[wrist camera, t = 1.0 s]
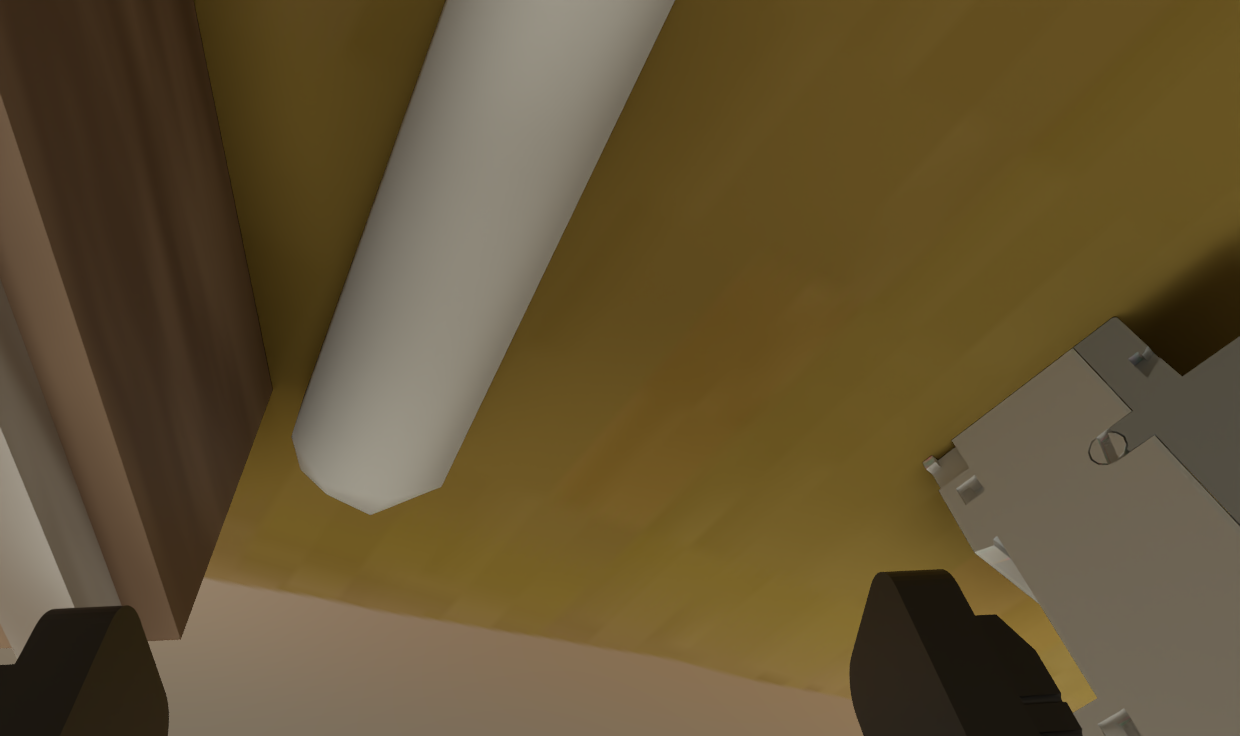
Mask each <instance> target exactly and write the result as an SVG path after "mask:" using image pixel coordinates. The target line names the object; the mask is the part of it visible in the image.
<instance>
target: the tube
mask: <svg viewBox="0 0 1240 736" xmlns="http://www.w3.org/2000/svg"><path fill="white" fill-rule="evenodd" d="M674 1H675V0H446V1H445V3H444V6H443V9H442V12H441V15H440V17H439V20H438V23H437V26H436V29H435V31H434V34H433V37H432V40H431V43H430V45H429V48H428V51H427V54H426V57H425V59H424V62H423V65H422V68H421V71H420V73H419V76H418V79H417V82H416V85H415V87H414V90H413V93H412V96H411V99H410V101H409V104H408V107H407V110H406V113H405V115H404V118H403V121H402V124H401V126H400V129H399V132H398V135H397V138H396V140H395V143H394V146H393V149H392V152H391V154H390V157H389V160H388V163H387V166H386V168H385V171H384V174H383V177H382V180H381V182H380V185H379V188H378V191H377V194H376V196H375V199H374V202H373V205H372V208H371V210H370V213H369V216H368V219H367V222H366V224H365V227H364V230H363V233H362V236H361V238H360V241H359V244H358V247H357V250H356V252H355V255H354V258H353V261H352V264H351V266H350V269H349V272H348V275H347V278H346V280H345V283H344V286H343V289H342V292H341V294H340V297H339V300H338V303H337V306H336V308H335V311H334V314H333V317H332V320H331V322H330V325H329V328H328V331H327V334H326V336H325V339H324V342H323V345H322V348H321V350H320V353H319V356H318V359H317V361H316V364H315V367H314V370H313V373H312V375H311V378H310V381H309V384H308V387H307V389H306V392H305V395H304V398H303V401H302V404H301V408H300V411H299V414H298V417H297V421H296V424H295V427H294V430H293V434H292V439H293V443H294V447H295V450H296V454H297V458H298V462H299V465H300V469H301V470H302V471H303V472H304V473H305V474H306V475H307V476H308V477H309V478H310V479H311V480H312V481H313V482H314V483H315V484H316V485H317V486H318V487H320V488H321V489H322V490H323V491H324V492H325V493H326V494H327V495H329V496H331V497H333V498H336V499H338V500H340V501H342V502H344V503H346V504H348V505H350V506H352V507H355V508H357V509H359V510H361V511H363V512H365V513H367V514H369V515H372V514H374V513H377V512H379V511H382V510H384V509H387V508H389V507H392V506H394V505H397V504H399V503H402V502H404V501H407V500H409V499H412V498H414V497H417V496H419V495H422V494H424V493H427V492H429V491H432V490H434V489H437V488H439V487H441V486H442V484H443V482H444V480H445V478H446V476H447V474H448V472H449V470H450V468H451V465H452V463H453V461H454V459H455V457H456V455H457V453H458V451H459V449H460V447H461V445H462V443H463V440H464V438H465V436H466V434H467V432H468V430H469V428H470V426H471V424H472V422H473V420H474V418H475V416H476V413H477V411H478V409H479V407H480V405H481V403H482V401H483V399H484V397H485V395H486V393H487V391H488V388H489V386H490V384H491V382H492V380H493V378H494V376H495V374H496V372H497V370H498V368H499V366H500V363H501V361H502V359H503V357H504V355H505V353H506V351H507V349H508V347H509V345H510V343H511V341H512V338H513V336H514V334H515V332H516V330H517V328H518V326H519V324H520V322H521V320H522V318H523V316H524V313H525V311H526V309H527V307H528V305H529V303H530V301H531V299H532V297H533V295H534V293H535V291H536V288H537V286H538V284H539V282H540V280H541V278H542V276H543V274H544V272H545V270H546V268H547V266H548V264H549V261H550V259H551V257H552V255H553V253H554V251H555V249H556V247H557V245H558V243H559V241H560V239H561V236H562V234H563V232H564V230H565V228H566V226H567V224H568V222H569V220H570V218H571V216H572V214H573V211H574V209H575V207H576V205H577V203H578V201H579V199H580V197H581V195H582V193H583V191H584V189H585V186H586V184H587V182H588V180H589V178H590V176H591V174H592V172H593V170H594V168H595V166H596V164H597V161H598V159H599V157H600V155H601V153H602V151H603V149H604V147H605V145H606V143H607V141H608V139H609V136H610V134H611V132H612V130H613V128H614V126H615V124H616V122H617V120H618V118H619V116H620V114H621V112H622V109H623V107H624V105H625V103H626V101H627V99H628V97H629V95H630V93H631V91H632V89H633V87H634V84H635V82H636V80H637V78H638V76H639V74H640V72H641V70H642V68H643V66H644V64H645V62H646V59H647V57H648V55H649V53H650V51H651V49H652V47H653V45H654V43H655V41H656V39H657V37H658V34H659V32H660V30H661V28H662V26H663V24H664V22H665V20H666V18H667V16H668V14H669V12H670V9H671V7H672V5H673V3H674Z"/></svg>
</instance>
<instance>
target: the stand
mask: <svg viewBox="0 0 1240 736" xmlns="http://www.w3.org/2000/svg"><path fill="white" fill-rule="evenodd" d="M272 390H273V389H272V385H271V380H270V375H269V370H268V365H267V360H266V355H265V350H264V345H263V340H262V335H261V330H260V326H259V321H258V316H257V311H256V306H255V301H254V296H253V291H252V286H251V281H250V276H249V271H248V267H247V262H246V257H245V252H244V247H243V242H242V237H241V232H240V227H239V222H238V217H237V213H236V208H235V203H234V198H233V193H232V188H231V183H230V178H229V173H228V168H227V163H226V158H225V154H224V149H223V144H222V139H221V134H220V129H219V124H218V119H217V114H216V109H215V104H214V99H213V95H212V90H211V85H210V80H209V75H208V70H207V65H206V60H205V55H204V50H203V45H202V40H201V36H200V31H199V26H198V21H197V16H196V11H195V6H194V1H193V0H0V648H12V649H13V651H14V653H15V655H16V657H17V659H18V657H19V655H20V654H21V652H22V650H23V648H24V646H25V644H26V642H27V640H28V639H29V637H30V635H31V633H32V631H33V629H34V627H35V626H36V624H37V622H38V621H39V619H40V618H41V617H42V616H43V615H44V614H45V613H46V612H47V611H49V610H51V609H61V608H82V607H103V606H124V605H129V606H132V607H133V608H134V609H135V610H136V612H137V613H138V616H139V618H140V621H141V624H142V627H143V630H144V632H145V635H146V638H147V641H158V640H178V639H181V637H182V634H183V631H184V629H185V626H186V623H187V621H188V618H189V615H190V613H191V610H192V607H193V604H194V602H195V599H196V596H197V594H198V591H199V588H200V585H201V583H202V580H203V577H204V575H205V572H206V569H207V567H208V564H209V561H210V558H211V556H212V553H213V550H214V548H215V545H216V542H217V539H218V537H219V534H220V531H221V529H222V526H223V523H224V520H225V518H226V515H227V512H228V510H229V507H230V504H231V501H232V499H233V496H234V493H235V491H236V488H237V485H238V482H239V480H240V477H241V474H242V472H243V469H244V466H245V463H246V461H247V458H248V455H249V453H250V450H251V447H252V444H253V442H254V439H255V436H256V434H257V431H258V428H259V425H260V423H261V420H262V417H263V415H264V412H265V409H266V406H267V404H268V401H269V398H270V396H271V393H272Z"/></svg>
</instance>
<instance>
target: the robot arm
mask: <svg viewBox="0 0 1240 736" xmlns="http://www.w3.org/2000/svg"><path fill="white" fill-rule="evenodd" d="M850 689H851V696H852V701H853V706H854V709H855V713H856V716H857V719H858V721H859V724H860V727H861V730H862V732H863V735H864V736H1083V735H1082V728H1081V726H1080V724H1079V723H1078V721H1077V719H1076V718H1075V716H1074V714H1073V713H1072V711H1071V709H1070V708H1069V706H1068V704H1067V702H1062V700H1061V692H1060V691H1059V689H1058V687H1057V686H1056V684H1055V682H1054V681H1053V679H1052V677H1051V676H1050V674H1049V672H1048V671H1047V669H1046V667H1045V666H1044V664H1043V662H1042V661H1041V659H1040V657H1039V655H1038V654H1037V652H1036V650H1034V649H1033V648H1032V647H1031V646H1030V645H1029V644H1028V643H1027V642H1026V641H1025V640H1023V639H1022V638H1021V637H1020V636H1019V635H1018V634H1017V633H1016V632H1015V631H1014V630H1013V629H1011V628H1010V627H1009V626H1008V625H1007V624H1006V623H1005V622H1004V621H1003V620H1002V619H1000V618H999V617H998V616H997V615H977V616H975V615H974V613H973V611H972V609H971V607H970V606H969V604H968V602H967V600H966V598H965V597H964V595H963V593H962V591H961V589H960V587H959V586H958V584H957V582H956V581H955V579H954V578H953V576H952V575H951V574H950V573H949V572H947V571H945V570H943V569H937V570H916V571H895V572H880V573H877V575H876V576H875V577H874V579H873V581H872V584H871V587H870V591H869V594H868V598H867V602H866V605H865V609H864V612H863V616H862V620H861V623H860V627H859V631H858V634H857V638H856V642H855V645H854V649H853V652H852V656H851V661H850ZM168 726H169V710H168V702H167V697H166V693H165V690H164V687H163V684H162V681H161V678H160V676H159V673H158V670H157V667H156V664H155V661H154V659H153V656H152V653H151V650H150V647H149V644H148V641H147V638H146V635H145V632H144V630H143V627H142V624H141V621H140V618H139V616H138V613H137V612H136V610H135V609H134V608H133V607H132V606H129V605H124V606H103V607H82V608H61V609H51V610H49V611H47V612H46V613H45V614H44V615H43V616H42V617H41V618H40V619H39V621H38V622H37V624H36V626H35V627H34V629H33V631H32V633H31V635H30V637H29V639H28V640H27V642H26V644H25V646H24V648H23V650H22V652H21V654H20V655H19V657H18V659H17V661H16V663H15V664H12V665H0V736H168Z"/></svg>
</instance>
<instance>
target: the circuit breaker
mask: <svg viewBox="0 0 1240 736" xmlns="http://www.w3.org/2000/svg"><path fill="white" fill-rule="evenodd" d="M1074 348H1075V350H1076V351H1077V352H1078V353H1079V354H1080V355H1081V356H1082V357H1083V358H1084V359H1085V360H1086V361H1087V362H1088V363H1089V364H1090V365H1091V367H1092V368H1093V369H1094V370H1095V371H1096V372H1097V373H1098V374H1099V375H1100V376H1101V377H1102V378H1103V379H1104V380H1105V381H1106V382H1107V384H1106V383H1105V382H1104V381H1103V380H1102V379H1101V378H1100V377H1099V375H1098V374H1097V373H1096V372H1095V371H1094V370H1093V369H1092V368H1091V367H1090V366H1089V365H1088V364H1087V363H1086V362H1085V361H1084V359H1083V358H1082V357H1081V356H1080V355H1079V354H1078V353H1077V352H1076V351H1075V350H1074V349H1073V348H1072V349H1071V350H1069V351H1068V352H1067V353H1065V354H1064V355H1063V356H1061V357H1060V358H1059V359H1058V360H1056V361H1055V362H1054V363H1052V364H1051V365H1050V366H1048V367H1047V368H1046V369H1044V370H1043V371H1042V372H1041V373H1039V374H1038V375H1037V376H1035V377H1034V378H1033V379H1031V380H1030V381H1029V382H1027V383H1026V384H1025V385H1023V386H1022V387H1021V388H1020V389H1018V390H1017V391H1016V392H1014V393H1013V394H1012V395H1010V396H1009V397H1008V398H1006V399H1005V400H1004V401H1003V402H1001V403H1000V404H999V405H997V406H996V407H995V408H993V409H992V410H991V411H989V412H988V413H987V414H985V415H984V416H983V417H982V418H980V419H979V420H978V421H976V422H975V423H974V424H972V425H971V426H970V427H968V428H967V429H966V430H965V431H963V432H962V433H961V434H959V435H958V436H957V437H955V438H954V439H953V440H952V442H953V443H954V445H955V446H956V447H955V448H954V449H952V450H951V451H950V452H948V453H947V454H946V455H944V456H943V457H942V458H940V459H939V460H937V459H936V458H934V457H933V456H930V457H929V458H928V459H926V460H925V461H924V462H923V464H924V466H925V468H926V469H927V470H928V471H929V472H930V473H931V474H932V475H933V476H934V478H935V480H936V481H937V483H938V485H939V487H940V488H941V489H940V490H939V492H940V494H941V496H942V497H943V499H944V501H945V503H946V504H947V506H948V508H949V509H950V511H951V513H952V515H953V516H954V518H955V520H956V522H957V523H958V525H959V527H960V528H961V530H962V532H963V534H964V535H965V537H966V539H967V541H968V542H969V544H970V546H971V548H972V549H973V551H974V552H975V553H976V554H977V555H978V556H980V557H981V558H982V559H983V560H985V561H986V562H987V563H988V564H990V565H991V566H992V567H993V568H995V569H996V570H997V571H998V572H1000V573H1001V574H1002V575H1004V576H1005V577H1006V578H1007V579H1009V580H1010V581H1011V582H1012V583H1014V584H1015V585H1016V586H1017V587H1019V588H1020V589H1021V590H1022V591H1024V592H1025V593H1026V594H1027V595H1029V596H1030V597H1031V598H1032V599H1034V600H1035V601H1036V602H1038V603H1039V604H1040V606H1041V607H1042V609H1043V611H1044V612H1045V614H1046V615H1047V617H1048V619H1049V620H1050V622H1051V624H1052V625H1053V627H1054V628H1055V630H1056V632H1057V633H1058V635H1059V636H1060V638H1061V640H1062V641H1063V643H1064V645H1065V646H1066V648H1067V649H1068V651H1069V653H1070V654H1071V656H1072V657H1073V659H1074V661H1075V662H1076V664H1077V666H1078V667H1079V669H1080V670H1081V672H1082V674H1083V675H1084V677H1085V678H1086V680H1087V682H1088V683H1089V685H1090V687H1091V688H1092V690H1093V691H1094V693H1095V695H1096V696H1097V699H1095V700H1094V701H1092V702H1090V703H1089V704H1087V705H1085V706H1084V707H1082V708H1080V709H1079V710H1077V711H1075V712H1074V713H1073V714H1074V716H1075V718H1076V719H1077V721H1078V723H1079V724H1080V726H1081V728H1082V735H1083V736H1240V336H1239V337H1238V338H1236V339H1235V340H1234V341H1232V342H1231V343H1229V344H1228V345H1226V346H1225V347H1224V348H1222V349H1221V350H1219V351H1218V352H1217V353H1215V354H1214V355H1212V356H1211V357H1209V358H1208V359H1207V360H1205V361H1204V362H1202V363H1201V364H1199V365H1198V366H1197V367H1195V368H1194V369H1192V370H1191V371H1190V372H1188V373H1187V374H1185V375H1184V376H1181V375H1180V374H1179V373H1177V372H1176V371H1175V370H1174V369H1173V368H1172V367H1170V366H1169V365H1168V364H1167V363H1166V362H1165V361H1163V360H1162V359H1161V358H1159V357H1158V356H1157V355H1155V354H1154V353H1153V351H1152V350H1151V349H1150V348H1149V347H1148V346H1147V345H1146V344H1145V343H1144V342H1143V341H1142V340H1141V339H1140V338H1139V337H1138V336H1136V335H1135V334H1134V333H1133V332H1132V331H1131V330H1130V329H1129V328H1128V327H1127V326H1126V325H1125V324H1124V323H1122V322H1121V321H1120V320H1119V319H1118V318H1117V317H1115V318H1111V319H1110V320H1109V321H1107V322H1106V323H1105V324H1104V325H1102V326H1101V327H1100V328H1098V329H1097V330H1096V331H1094V332H1093V333H1092V334H1090V335H1089V336H1088V337H1086V338H1085V339H1084V340H1082V341H1081V342H1080V343H1079V344H1077V345H1076V346H1075V347H1074ZM1119 396H1120V397H1121V398H1122V399H1123V401H1124V402H1125V403H1126V404H1127V405H1128V406H1129V407H1130V408H1131V409H1132V410H1133V411H1132V410H1131V409H1130V408H1129V407H1128V406H1127V405H1126V404H1125V403H1124V402H1123V401H1122V400H1121V399H1120V398H1119ZM1162 442H1163V443H1164V444H1165V445H1166V446H1167V447H1168V448H1169V449H1170V450H1169V449H1168V448H1167V447H1166V446H1165V445H1164V444H1163V443H1162ZM1182 463H1183V464H1184V465H1185V466H1184V465H1183V464H1182ZM1186 468H1187V469H1188V470H1189V471H1190V472H1191V473H1192V474H1193V475H1194V476H1195V477H1196V478H1197V479H1198V480H1199V481H1200V482H1201V483H1200V482H1199V481H1198V480H1197V479H1196V478H1195V477H1194V476H1193V475H1192V474H1191V473H1190V472H1189V471H1188V470H1187V469H1186ZM1201 484H1202V485H1203V486H1204V487H1205V488H1206V489H1207V490H1208V491H1209V492H1210V493H1211V494H1212V495H1213V496H1214V497H1215V498H1216V499H1217V500H1216V499H1215V498H1214V497H1213V496H1212V495H1211V494H1210V493H1209V492H1208V491H1207V490H1206V489H1205V488H1204V487H1203V486H1202V485H1201ZM1217 501H1218V502H1219V503H1220V504H1221V505H1222V506H1223V507H1224V508H1225V509H1226V510H1227V511H1228V512H1229V513H1230V514H1231V515H1230V514H1229V513H1228V512H1227V511H1226V510H1225V509H1224V508H1223V507H1222V506H1221V505H1220V504H1219V503H1218V502H1217Z"/></svg>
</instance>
